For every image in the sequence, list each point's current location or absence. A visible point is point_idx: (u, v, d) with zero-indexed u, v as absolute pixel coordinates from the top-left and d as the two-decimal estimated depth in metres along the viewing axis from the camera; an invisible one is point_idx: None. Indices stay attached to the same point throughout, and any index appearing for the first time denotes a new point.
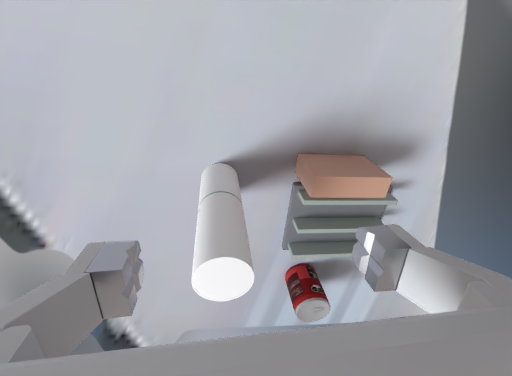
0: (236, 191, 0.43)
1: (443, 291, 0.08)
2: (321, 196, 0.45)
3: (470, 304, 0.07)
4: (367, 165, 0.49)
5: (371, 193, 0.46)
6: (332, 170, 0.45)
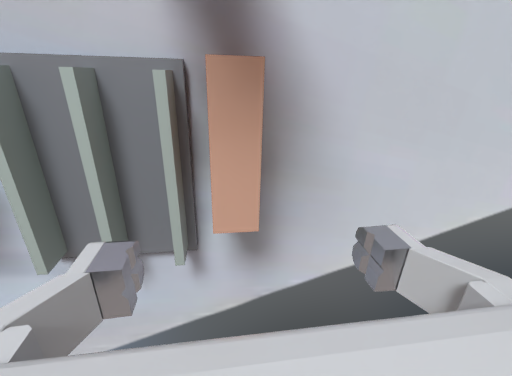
0: None
1: (443, 291, 0.08)
2: (210, 86, 0.18)
3: (470, 304, 0.07)
4: None
5: (222, 203, 0.22)
6: None
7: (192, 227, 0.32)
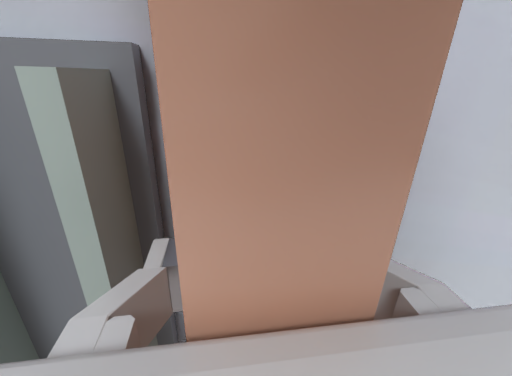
0: None
1: (383, 297, 0.08)
2: (182, 146, 0.04)
3: (401, 312, 0.07)
4: None
5: None
6: None
7: None
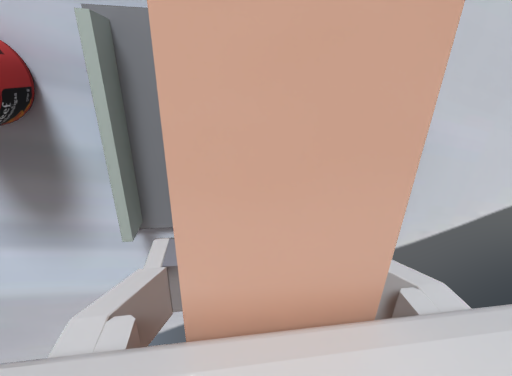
0: None
1: (382, 297, 0.08)
2: (181, 148, 0.04)
3: (401, 312, 0.07)
4: None
5: None
6: None
7: None
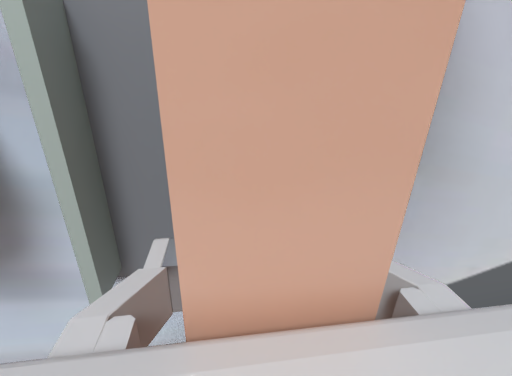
0: None
1: (383, 297, 0.08)
2: (181, 148, 0.04)
3: (401, 312, 0.07)
4: None
5: None
6: None
7: None
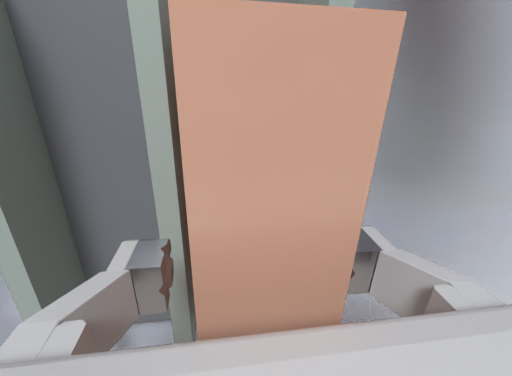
0: None
1: (412, 294, 0.08)
2: (192, 128, 0.05)
3: (435, 308, 0.07)
4: None
5: None
6: None
7: None
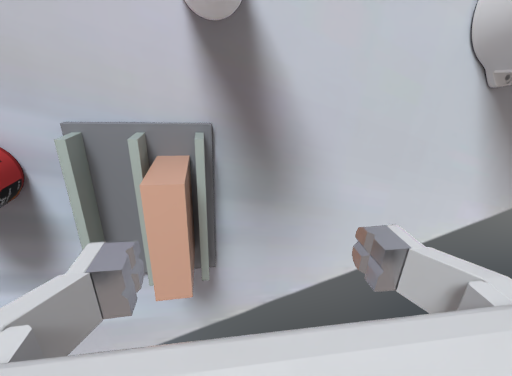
0: None
1: (443, 291, 0.08)
2: (144, 204, 0.25)
3: (470, 304, 0.07)
4: (193, 256, 0.34)
5: (161, 279, 0.29)
6: (188, 210, 0.28)
7: (212, 248, 0.40)
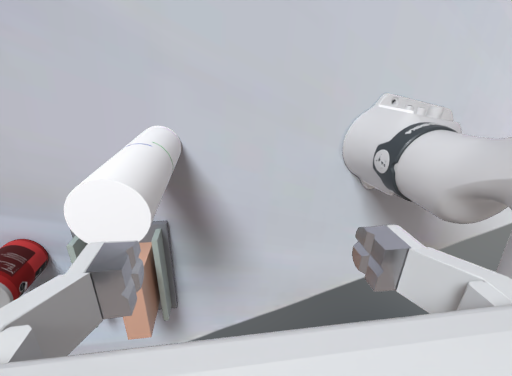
0: None
1: (443, 291, 0.08)
2: None
3: (470, 304, 0.07)
4: (155, 307, 0.52)
5: (130, 327, 0.47)
6: (146, 286, 0.47)
7: (173, 296, 0.58)
